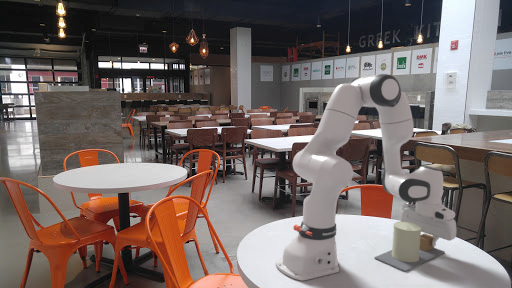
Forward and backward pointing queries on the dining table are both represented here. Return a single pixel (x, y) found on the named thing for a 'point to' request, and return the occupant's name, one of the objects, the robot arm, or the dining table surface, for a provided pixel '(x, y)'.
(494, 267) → the dining table surface
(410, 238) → the can
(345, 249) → the dining table surface
